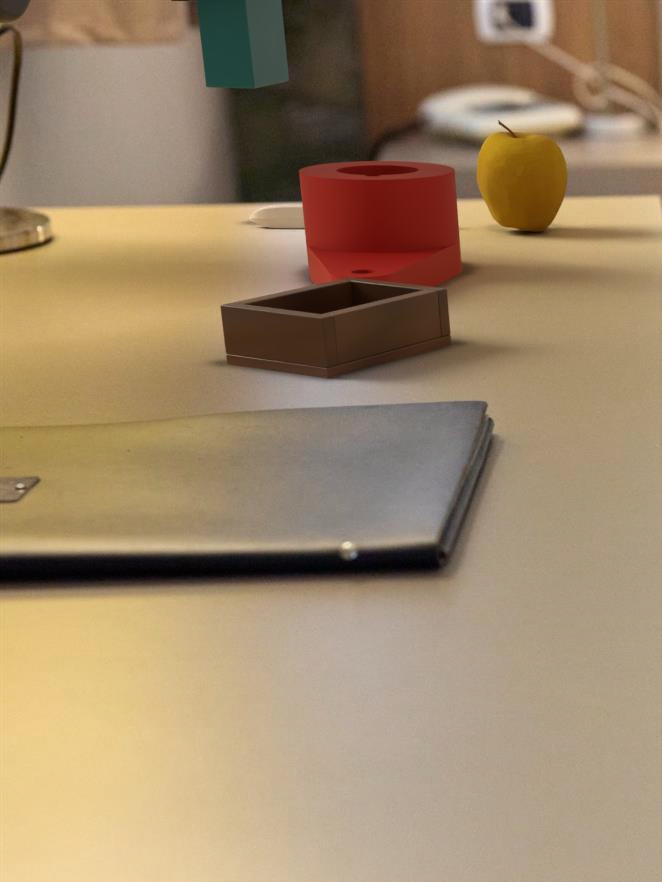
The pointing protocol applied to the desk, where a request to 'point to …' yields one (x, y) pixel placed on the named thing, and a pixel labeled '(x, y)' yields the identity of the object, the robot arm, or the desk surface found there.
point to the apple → (522, 179)
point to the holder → (335, 326)
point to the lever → (381, 221)
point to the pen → (279, 216)
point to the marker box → (242, 43)
